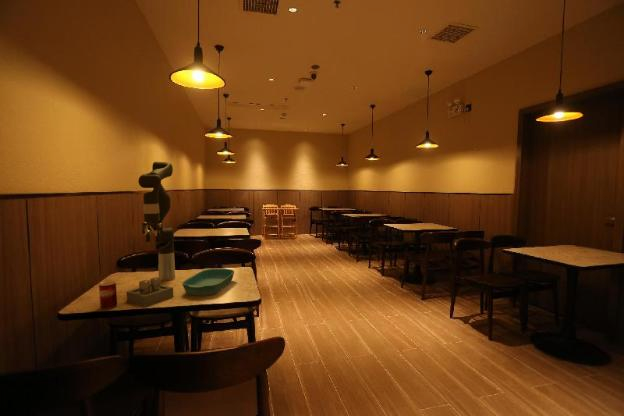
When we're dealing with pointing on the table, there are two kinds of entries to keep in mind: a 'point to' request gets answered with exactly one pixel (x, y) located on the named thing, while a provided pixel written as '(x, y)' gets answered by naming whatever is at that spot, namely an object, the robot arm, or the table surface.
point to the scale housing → (149, 296)
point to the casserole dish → (208, 281)
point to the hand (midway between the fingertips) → (153, 242)
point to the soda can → (108, 295)
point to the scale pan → (151, 291)
